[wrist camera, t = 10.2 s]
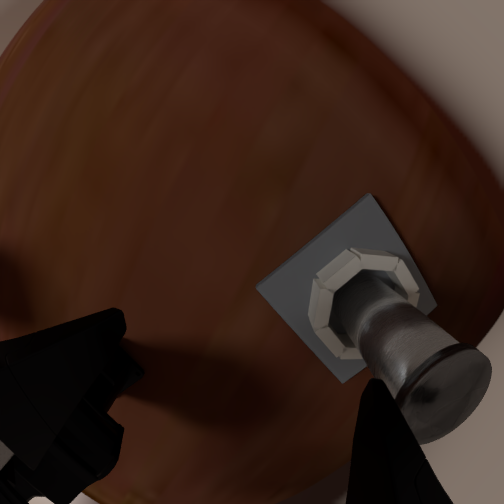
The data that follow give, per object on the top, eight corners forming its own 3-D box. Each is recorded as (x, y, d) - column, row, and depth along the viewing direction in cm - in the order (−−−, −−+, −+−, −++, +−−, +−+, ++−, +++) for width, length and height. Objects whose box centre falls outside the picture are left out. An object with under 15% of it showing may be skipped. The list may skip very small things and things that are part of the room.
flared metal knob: (319, 320, 22) (377, 446, 9) (343, 260, 21) (444, 346, 8) (371, 333, 22) (450, 441, 9) (396, 279, 21) (506, 358, 8)
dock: (340, 378, 24) (349, 399, 20) (255, 285, 22) (255, 299, 19) (432, 302, 22) (451, 315, 19) (366, 193, 20) (383, 193, 17)
